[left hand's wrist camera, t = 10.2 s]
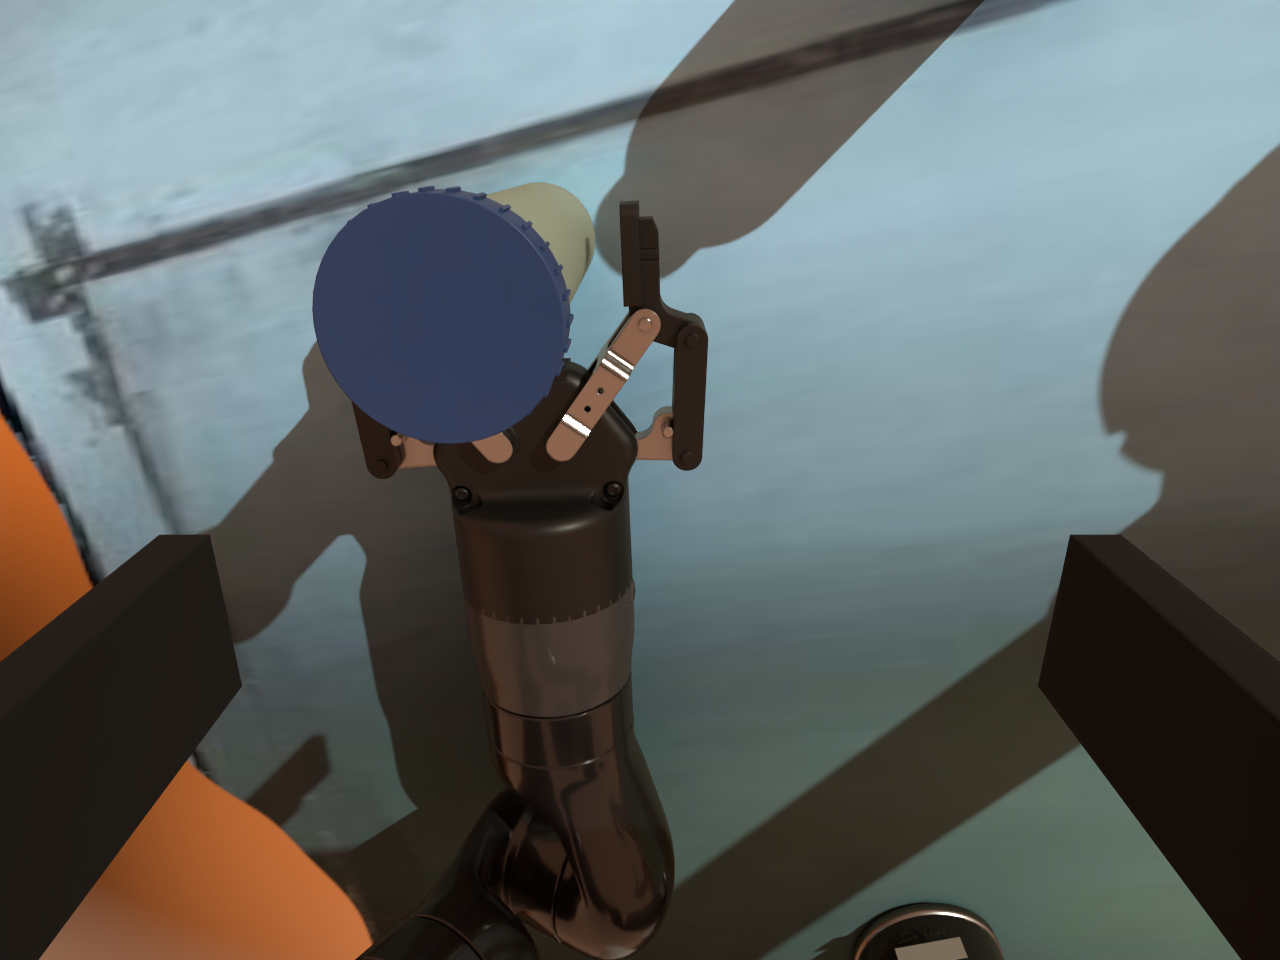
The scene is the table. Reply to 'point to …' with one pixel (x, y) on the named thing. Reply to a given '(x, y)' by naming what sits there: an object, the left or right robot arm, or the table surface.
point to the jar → (556, 225)
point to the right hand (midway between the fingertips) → (515, 205)
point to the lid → (442, 314)
